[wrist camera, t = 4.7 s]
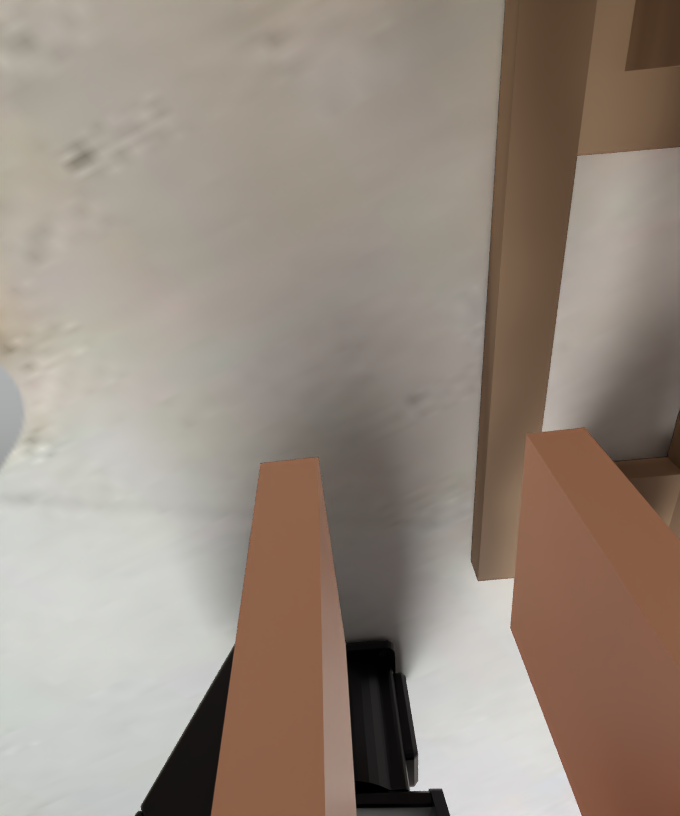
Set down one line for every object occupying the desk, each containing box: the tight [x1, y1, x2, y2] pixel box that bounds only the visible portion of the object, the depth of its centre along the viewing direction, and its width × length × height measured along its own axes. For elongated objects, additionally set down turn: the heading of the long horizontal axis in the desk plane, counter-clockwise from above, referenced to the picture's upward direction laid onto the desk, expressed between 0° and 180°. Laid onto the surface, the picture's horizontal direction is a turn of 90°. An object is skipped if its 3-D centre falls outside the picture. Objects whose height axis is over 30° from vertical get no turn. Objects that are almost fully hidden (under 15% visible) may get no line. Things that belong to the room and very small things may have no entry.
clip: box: [211, 428, 680, 816], centre depth 7 cm, size 6×5×7 cm
